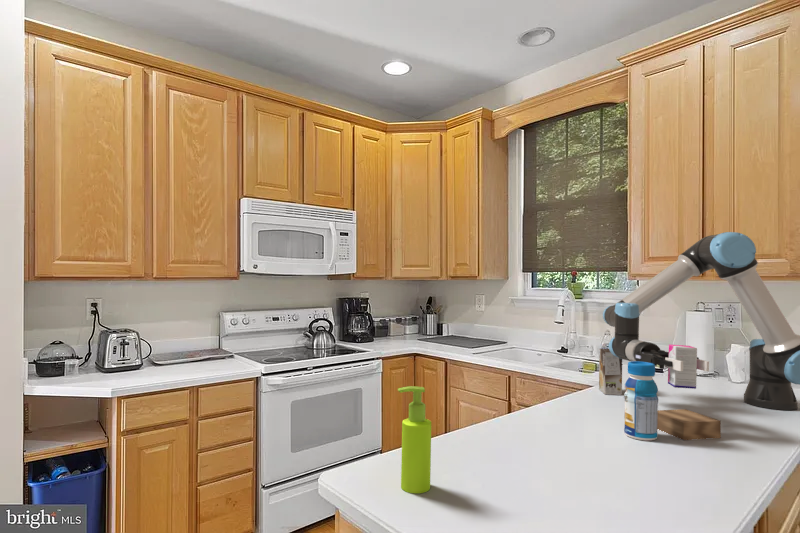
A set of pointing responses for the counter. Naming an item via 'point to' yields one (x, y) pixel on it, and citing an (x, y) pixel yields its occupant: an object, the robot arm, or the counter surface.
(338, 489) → the counter surface
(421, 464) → the soap dispenser
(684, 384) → the supplement box
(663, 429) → the oak riser block
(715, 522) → the counter surface
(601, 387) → the coffee box
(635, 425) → the beverage bottle
